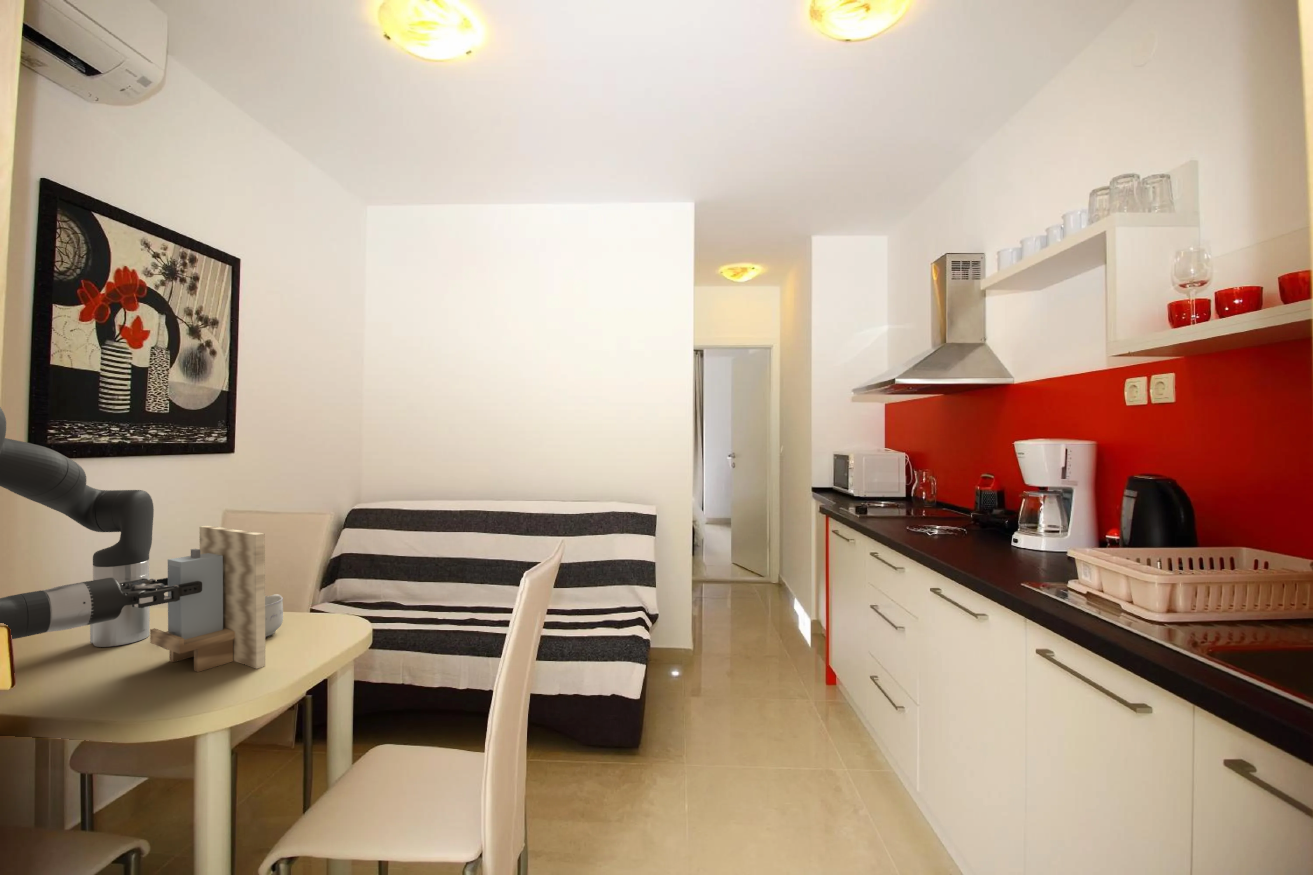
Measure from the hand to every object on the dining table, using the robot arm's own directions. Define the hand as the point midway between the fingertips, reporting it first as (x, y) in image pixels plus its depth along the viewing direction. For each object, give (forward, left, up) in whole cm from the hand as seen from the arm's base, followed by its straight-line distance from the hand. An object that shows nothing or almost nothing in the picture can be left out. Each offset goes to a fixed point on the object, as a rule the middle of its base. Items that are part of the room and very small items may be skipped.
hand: (190, 583), depth 115 cm
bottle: (0, +1, -10) cm, 10 cm away
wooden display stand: (+3, 0, -16) cm, 16 cm away
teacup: (-1, +18, -16) cm, 24 cm away
